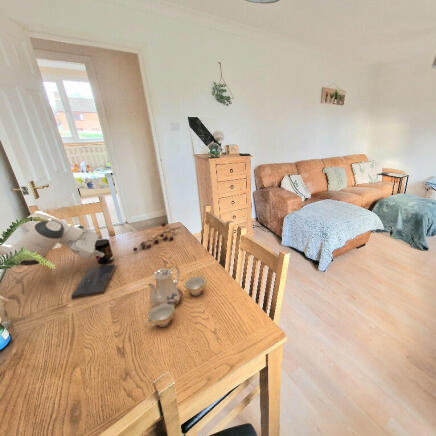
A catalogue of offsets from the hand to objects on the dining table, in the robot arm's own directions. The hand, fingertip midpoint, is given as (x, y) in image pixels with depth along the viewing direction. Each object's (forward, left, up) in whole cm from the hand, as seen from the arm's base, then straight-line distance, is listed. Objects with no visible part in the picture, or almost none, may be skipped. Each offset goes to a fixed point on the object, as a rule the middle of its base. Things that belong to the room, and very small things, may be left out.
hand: (104, 251), depth 115 cm
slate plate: (-1, -15, -6) cm, 17 cm away
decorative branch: (+21, +16, -7) cm, 28 cm away
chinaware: (+31, -41, -6) cm, 52 cm away
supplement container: (-1, 0, -6) cm, 6 cm away
